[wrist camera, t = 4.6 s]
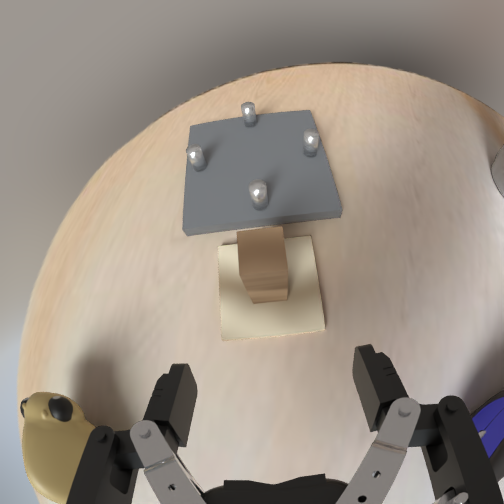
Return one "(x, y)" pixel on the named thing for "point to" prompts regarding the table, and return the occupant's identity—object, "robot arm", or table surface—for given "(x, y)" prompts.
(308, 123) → the base board
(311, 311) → the handled board
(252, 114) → the standoff pins
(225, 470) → the table surface
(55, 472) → the yellow toy animal
